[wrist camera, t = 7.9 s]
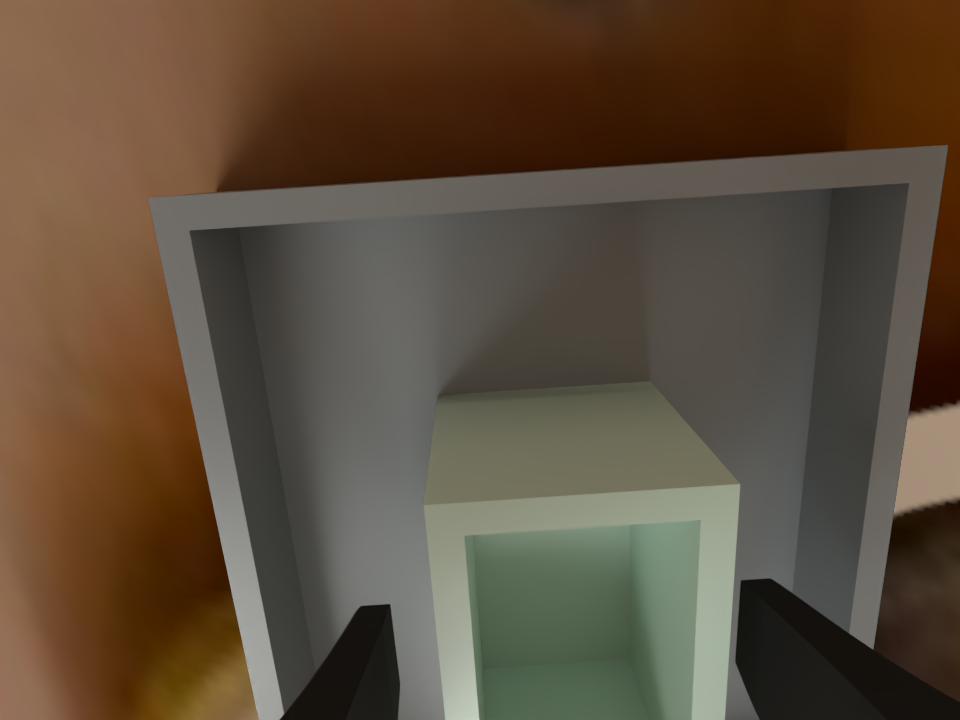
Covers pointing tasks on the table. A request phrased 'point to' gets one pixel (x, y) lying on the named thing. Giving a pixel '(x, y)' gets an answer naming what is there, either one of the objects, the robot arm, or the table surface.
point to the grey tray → (545, 367)
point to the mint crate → (579, 556)
